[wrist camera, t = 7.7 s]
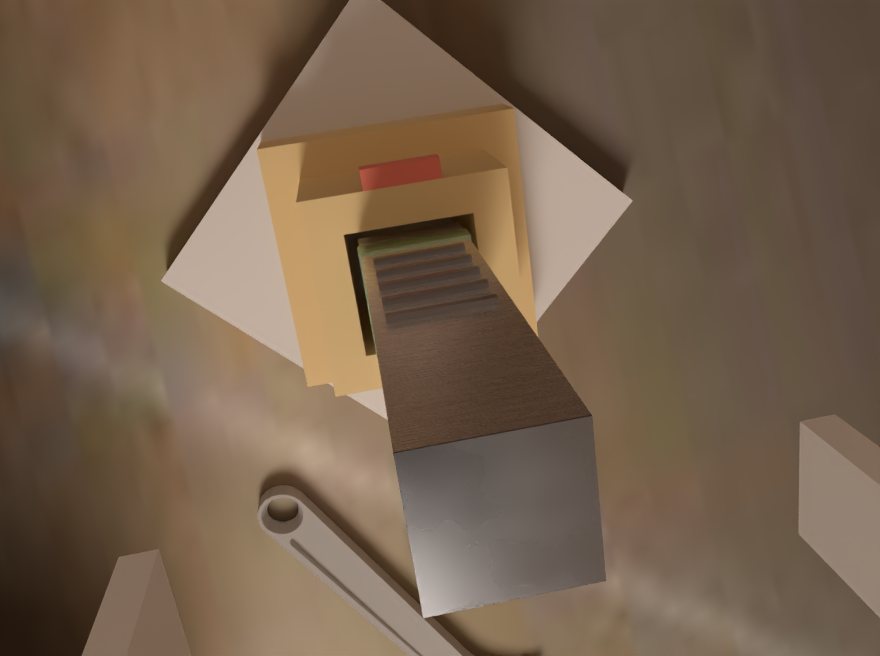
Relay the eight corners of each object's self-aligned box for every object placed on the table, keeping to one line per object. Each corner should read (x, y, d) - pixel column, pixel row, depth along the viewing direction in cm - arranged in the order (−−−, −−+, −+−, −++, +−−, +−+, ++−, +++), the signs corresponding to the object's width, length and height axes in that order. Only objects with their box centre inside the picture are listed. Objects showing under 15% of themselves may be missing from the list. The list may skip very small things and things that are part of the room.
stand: (220, 475, 44) (197, 581, 36) (99, 23, 36) (32, 22, 28) (634, 397, 46) (704, 481, 37) (606, -51, 38) (687, -73, 29)
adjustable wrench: (246, 499, 45) (243, 517, 44) (341, 433, 45) (342, 448, 43) (496, 763, 54) (502, 786, 52) (579, 710, 53) (587, 731, 52)
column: (373, 335, 34) (420, 622, 18) (354, 234, 33) (387, 445, 16) (473, 318, 34) (610, 582, 18) (459, 216, 33) (595, 406, 17)
